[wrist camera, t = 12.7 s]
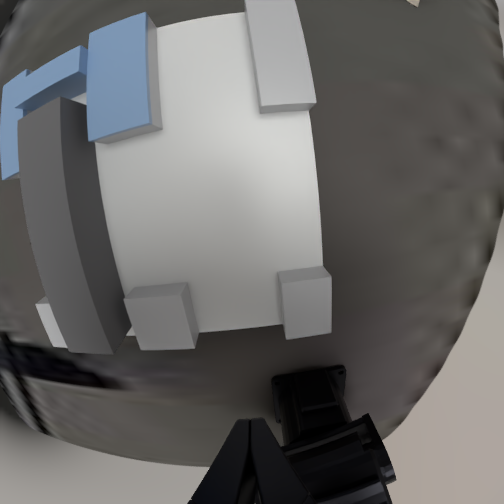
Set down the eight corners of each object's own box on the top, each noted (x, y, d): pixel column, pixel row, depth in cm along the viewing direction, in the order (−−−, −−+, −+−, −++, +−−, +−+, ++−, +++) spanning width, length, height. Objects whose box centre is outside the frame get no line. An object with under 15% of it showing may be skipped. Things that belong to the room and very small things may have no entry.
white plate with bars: (320, 311, 20) (337, 345, 15) (69, 329, 20) (44, 355, 16) (287, 17, 14) (297, -17, 9) (28, 92, 14) (-5, 84, 10)
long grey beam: (133, 323, 19) (113, 354, 15) (92, 324, 19) (69, 351, 15) (93, 107, 14) (60, 96, 10) (51, 125, 14) (17, 120, 10)
